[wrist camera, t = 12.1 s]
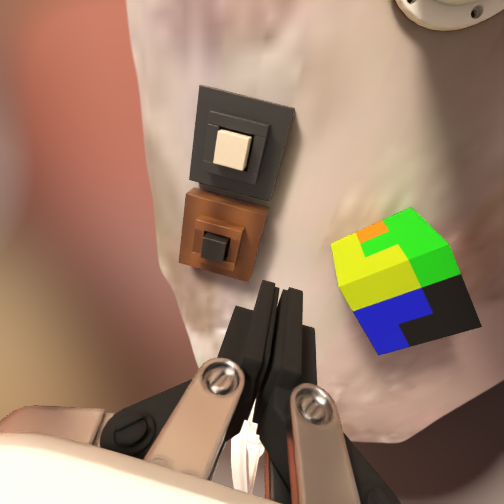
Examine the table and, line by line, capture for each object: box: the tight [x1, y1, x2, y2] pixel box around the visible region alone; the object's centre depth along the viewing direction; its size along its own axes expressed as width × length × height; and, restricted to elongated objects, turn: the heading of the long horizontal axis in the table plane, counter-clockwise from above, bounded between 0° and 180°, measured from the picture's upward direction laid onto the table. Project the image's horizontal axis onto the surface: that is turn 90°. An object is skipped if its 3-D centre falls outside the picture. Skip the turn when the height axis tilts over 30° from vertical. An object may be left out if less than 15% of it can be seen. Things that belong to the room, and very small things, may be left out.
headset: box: [231, 399, 265, 494], centre depth 41 cm, size 20×7×18 cm, turn 1°
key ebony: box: [200, 233, 229, 263], centre depth 34 cm, size 3×3×2 cm
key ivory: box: [213, 130, 252, 171], centre depth 29 cm, size 3×3×2 cm
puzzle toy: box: [331, 207, 482, 355], centre depth 32 cm, size 10×10×10 cm
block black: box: [189, 85, 295, 201], centre depth 31 cm, size 10×10×4 cm
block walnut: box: [179, 188, 269, 282], centre depth 36 cm, size 10×10×4 cm
